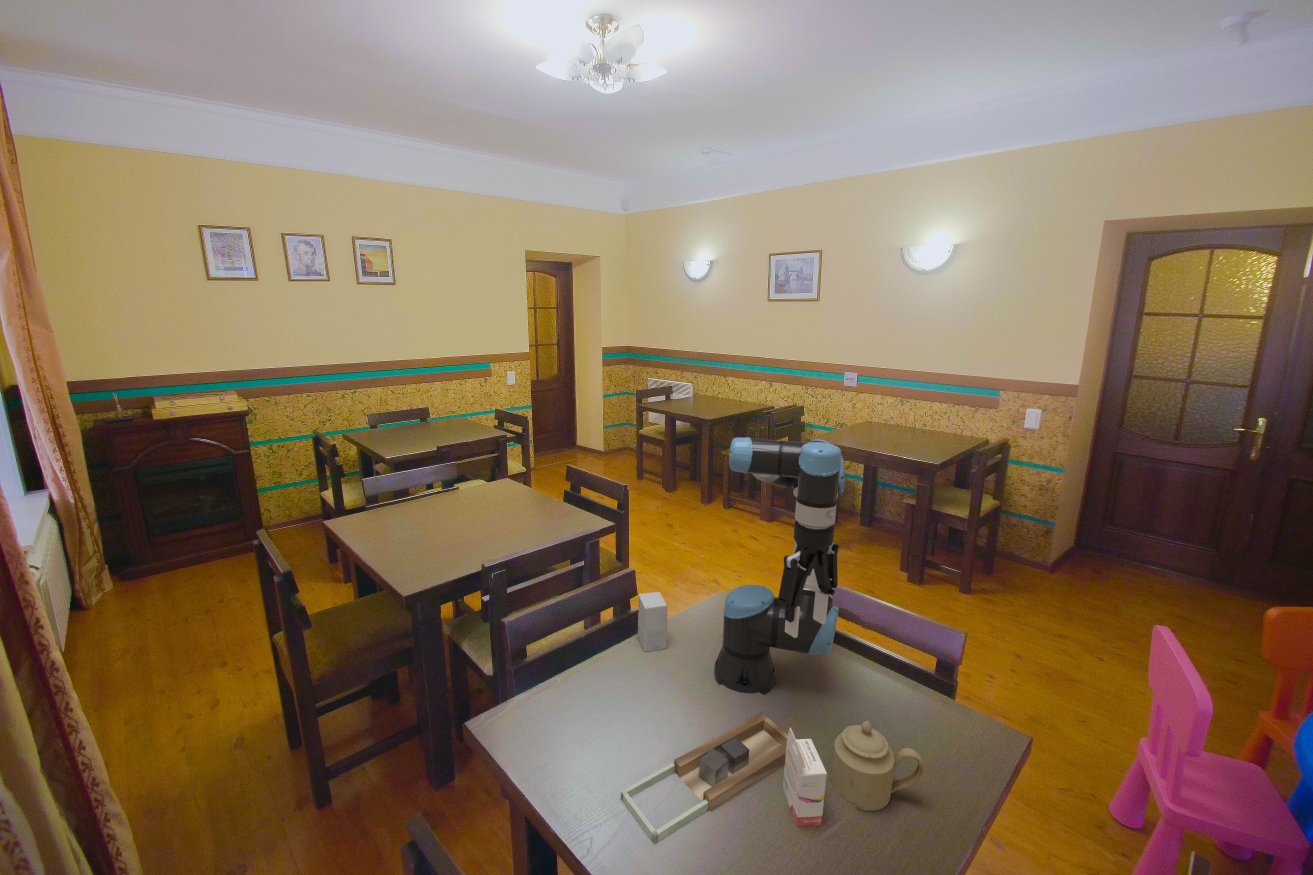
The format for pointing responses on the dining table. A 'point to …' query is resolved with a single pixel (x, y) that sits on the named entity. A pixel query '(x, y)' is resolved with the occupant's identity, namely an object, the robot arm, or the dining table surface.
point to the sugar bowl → (868, 767)
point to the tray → (652, 833)
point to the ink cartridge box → (804, 781)
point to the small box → (652, 621)
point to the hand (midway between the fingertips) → (805, 627)
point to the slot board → (763, 758)
